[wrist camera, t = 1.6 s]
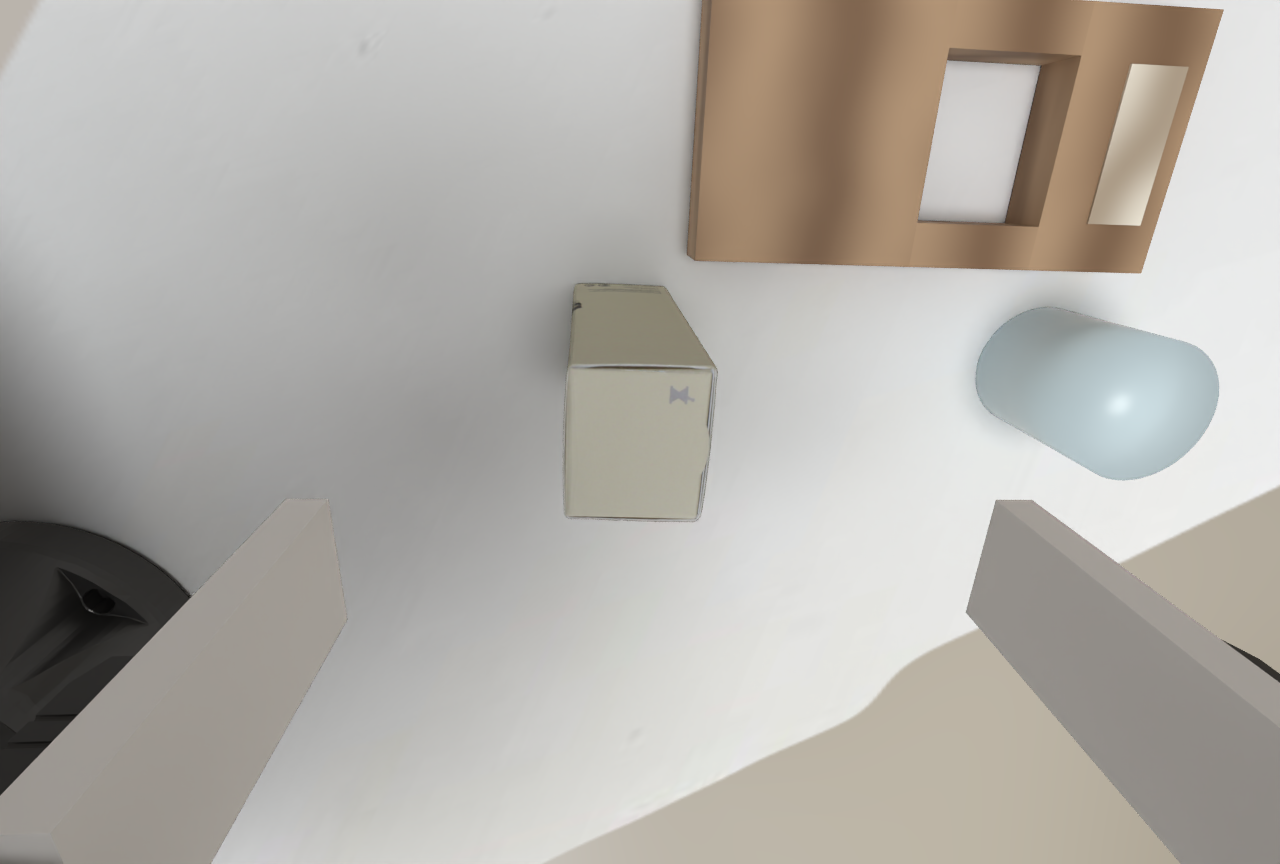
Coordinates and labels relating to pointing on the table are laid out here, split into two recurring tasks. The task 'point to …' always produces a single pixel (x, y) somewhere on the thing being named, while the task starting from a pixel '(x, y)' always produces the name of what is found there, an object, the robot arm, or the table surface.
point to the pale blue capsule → (1098, 390)
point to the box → (635, 408)
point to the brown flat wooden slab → (904, 126)
